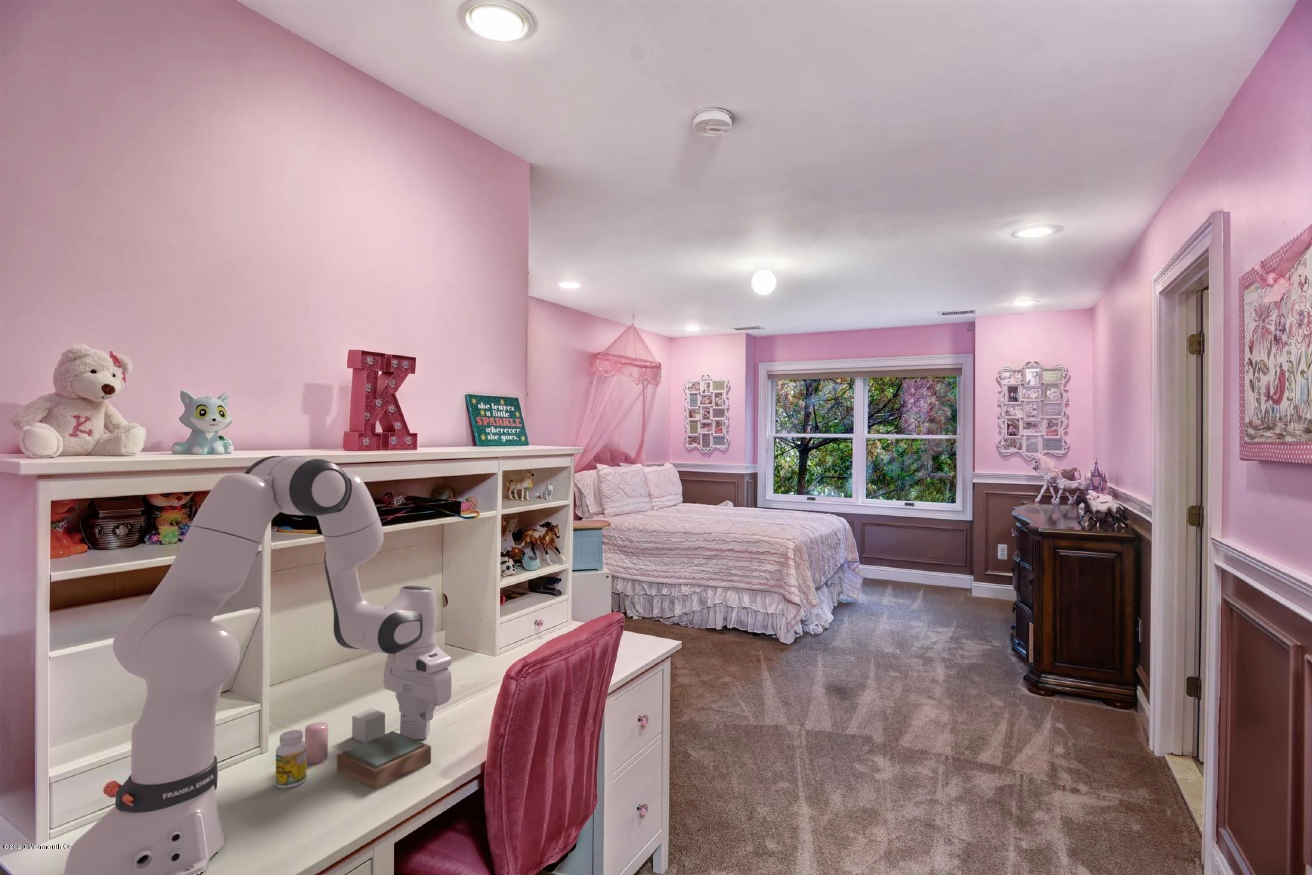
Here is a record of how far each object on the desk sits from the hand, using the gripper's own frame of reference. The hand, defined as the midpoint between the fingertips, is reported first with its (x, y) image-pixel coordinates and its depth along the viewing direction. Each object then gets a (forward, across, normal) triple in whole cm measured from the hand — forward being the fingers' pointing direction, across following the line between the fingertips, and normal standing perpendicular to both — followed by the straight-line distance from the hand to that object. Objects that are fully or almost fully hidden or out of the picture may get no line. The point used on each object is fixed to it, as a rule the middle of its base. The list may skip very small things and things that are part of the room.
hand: (415, 715), depth 152 cm
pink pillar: (+5, -8, -19) cm, 21 cm away
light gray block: (+5, -9, -6) cm, 12 cm away
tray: (+5, +7, -13) cm, 15 cm away
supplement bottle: (+5, -3, -27) cm, 28 cm away
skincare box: (+5, 0, 0) cm, 5 cm away
